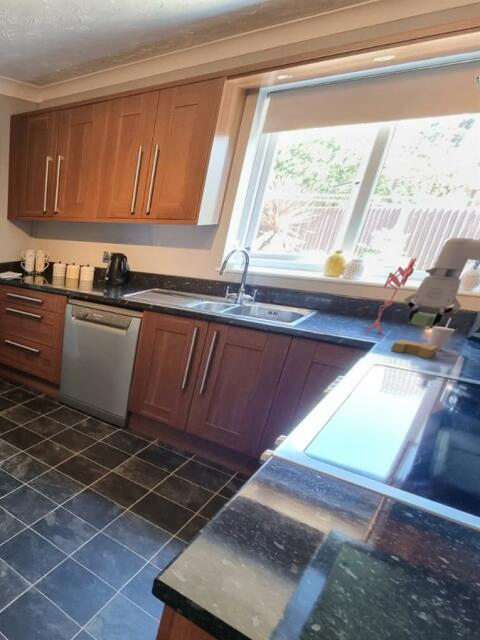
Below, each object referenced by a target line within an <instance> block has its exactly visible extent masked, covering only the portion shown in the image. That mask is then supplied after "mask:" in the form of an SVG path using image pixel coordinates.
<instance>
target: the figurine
mask: <svg viewBox="0 0 480 640" xmlns="http://www.w3.org/2000/svg"><path fill="white" fill-rule="evenodd" d="M416 260H417V257H416V258H414V257H412V258H410V260H409V262H408V264H407V266H406V267H404V269H403V268H402V266H399V267H398V268H397V270H396V271H395V272H394V273H392V272H389V274H388V277H387V278H386V281H385V284H384V286H383V288H387V286H388V285H390V286H391V287H392V288H394V292H393V295H392V296H391V298H390V299H386V300H385V301H384V304H383V305H380V307H379V310H378V317H377V319H375V320H374V323H372V324H371V325H370V326H369V327H367V329H366V330H365V332H364V334H362V336H364V335H367V334H368V333H369V332H370V331H372V330H373V329H374V328H375V327H376V329H377V331H378V333H379V335H380V336H381V337H383V332H382V329H383V328H382V324H381V322H380V320H381V317H382V315H383V311H384V309H386V308H387V307H389V306H391V305H393V304H394V301H393V299H394V296H395V295H396V294H397V292H398V288H400V287H401V286H402V287H404V286H405V284H406V283H407V281H408V278H409V277H411V276H412V274H413V273H414V270H415V269H414V265H415V263H416ZM397 273H398V274H397ZM399 276H401V277H402V278H401V279H400V280H399ZM391 282H392V283H393V284H394V285H393V284H392V283H391ZM395 285H396V286H395ZM397 287H398V288H397ZM382 307H383V308H382ZM391 333H393V334H395V335H396V334H398V333H397V332H395V331H394V332H393V331H392V332H391ZM399 335H400V336H403V337H404V338H402V340H406V336H405V335H404V334H402V333H401V334H400V333H399Z"/></svg>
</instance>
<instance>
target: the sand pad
mask: <svg viewBox="0 0 480 640" xmlns="http://www.w3.org/2000/svg"><path fill="white" fill-rule="evenodd" d="M437 348H438V346H434V345H429V343H428V344H427V343H423V342H417V341H411V340H408V339H407V340H406V339H403V338H402V339H399V340H397V341H395V342H394V343H393V344H392V346H391V349H390V352H395V353H398V354H402V353H406V354H410V355H415V356H417V357H419V358H423V359H429V358H431V357H433V356H434V355H435V354H436V352H437V351H438V350H437Z"/></svg>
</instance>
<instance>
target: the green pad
mask: <svg viewBox="0 0 480 640" xmlns="http://www.w3.org/2000/svg"><path fill="white" fill-rule="evenodd" d="M436 315H437V314H435V313H429V312H421V311H418V313H415V314H414V315H413V318H412V320H411V321H410V324H412V325H414V326H420V327H431V326H432V327H433V326H434V325H433V322H434V320H435V318H436Z"/></svg>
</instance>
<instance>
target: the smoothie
mask: <svg viewBox="0 0 480 640" xmlns="http://www.w3.org/2000/svg"><path fill="white" fill-rule="evenodd" d="M451 320H452V317H449V318H448V321H447V323H446V324H445V326H436V325H433V326H432V328H431V330H432V331H431V334H430V338H429V341H428V344H429V345H434V346H438V348H437V350H436V351H442V349H443V348H444V346H445V345H446V343H447V342H448V340H449V339H450V338H451V336H452V335H453V333H455V331H456V330H455V329H454V328H451V327H449V325H450V323H451Z"/></svg>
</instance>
